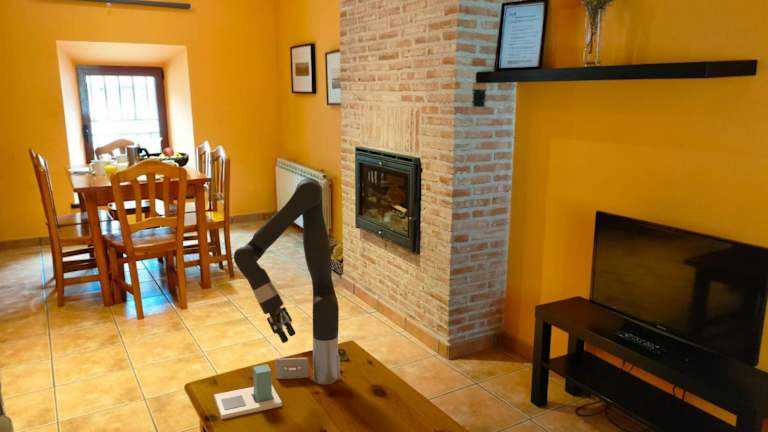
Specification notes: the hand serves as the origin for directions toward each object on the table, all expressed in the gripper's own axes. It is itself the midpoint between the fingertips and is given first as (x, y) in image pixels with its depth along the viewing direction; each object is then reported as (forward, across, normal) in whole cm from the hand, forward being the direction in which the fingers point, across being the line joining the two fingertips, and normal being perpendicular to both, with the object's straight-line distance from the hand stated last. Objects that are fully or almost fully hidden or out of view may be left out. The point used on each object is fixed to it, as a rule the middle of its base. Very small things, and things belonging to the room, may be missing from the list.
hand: (289, 338), depth 202 cm
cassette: (+15, +12, +11) cm, 22 cm away
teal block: (+14, -6, +17) cm, 23 cm away
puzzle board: (+12, -8, +21) cm, 25 cm away
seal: (+18, +31, +1) cm, 36 cm away
